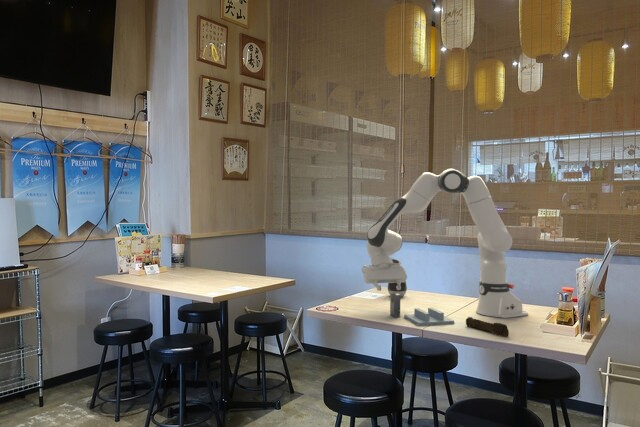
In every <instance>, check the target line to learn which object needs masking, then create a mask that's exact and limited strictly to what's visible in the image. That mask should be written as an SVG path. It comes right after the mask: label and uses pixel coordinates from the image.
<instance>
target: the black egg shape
mask: <svg viewBox="0 0 640 427" xmlns="http://www.w3.org/2000/svg"><path fill="white" fill-rule="evenodd" d="M397 285H398V284H397V283H387V288H386V290H387V292H388V294H389V295H390V296H391V294H395V293H399V294H400V298H402V297H404V296H405V295H406V293H407V290H408V286H407V285H408V284H407V280H406V281H405V282H402V283H401V284H400V286H401V289H400V290H397V288H396V286H397Z"/></svg>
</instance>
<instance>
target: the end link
mask: <svg viewBox="0 0 640 427" xmlns="http://www.w3.org/2000/svg"><path fill="white" fill-rule="evenodd" d="M389 301H390V303H389V306H390V307H389V308H390V309H389V316H390V317H392V318H401V297H400V294H399V293H395V294H391V295H390V299H389Z"/></svg>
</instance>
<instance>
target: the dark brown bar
mask: <svg viewBox="0 0 640 427" xmlns="http://www.w3.org/2000/svg"><path fill="white" fill-rule="evenodd" d="M465 325H466V327H470V328H472V327H473V328H476V329H479V330H483V331H486V332H487V331H488V332H490V333H493V335H495V334H496V336H499V335H500V336H501V337H507V338H508V337H509V336H510V332H509V329H508V326H507V324H504V323H501V322H494V323H493V322H492V323H491V322H487V321H483V320H480V319H478V318H473V317H471V316H468V317H467V318H466V319H465Z"/></svg>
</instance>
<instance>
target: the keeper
mask: <svg viewBox="0 0 640 427" xmlns="http://www.w3.org/2000/svg"><path fill="white" fill-rule="evenodd" d="M427 309H428V310H427V311H425V310H424V309H421V308H419V307H418V308H414V309H413V310H414V311H413V312H414V314H412V313H411V314H410V313H409V314H404V319H406V320H408V321H410V322H411V321H412V322H411V323H413V324H415V325H417V326H418V325H419V326H421V327H423V326H434V325H453V324H455V320H454V319H451V318H449V317H447V316H445V313H444V312H442V311H441V310H439V309H437V308H434V307H427Z"/></svg>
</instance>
